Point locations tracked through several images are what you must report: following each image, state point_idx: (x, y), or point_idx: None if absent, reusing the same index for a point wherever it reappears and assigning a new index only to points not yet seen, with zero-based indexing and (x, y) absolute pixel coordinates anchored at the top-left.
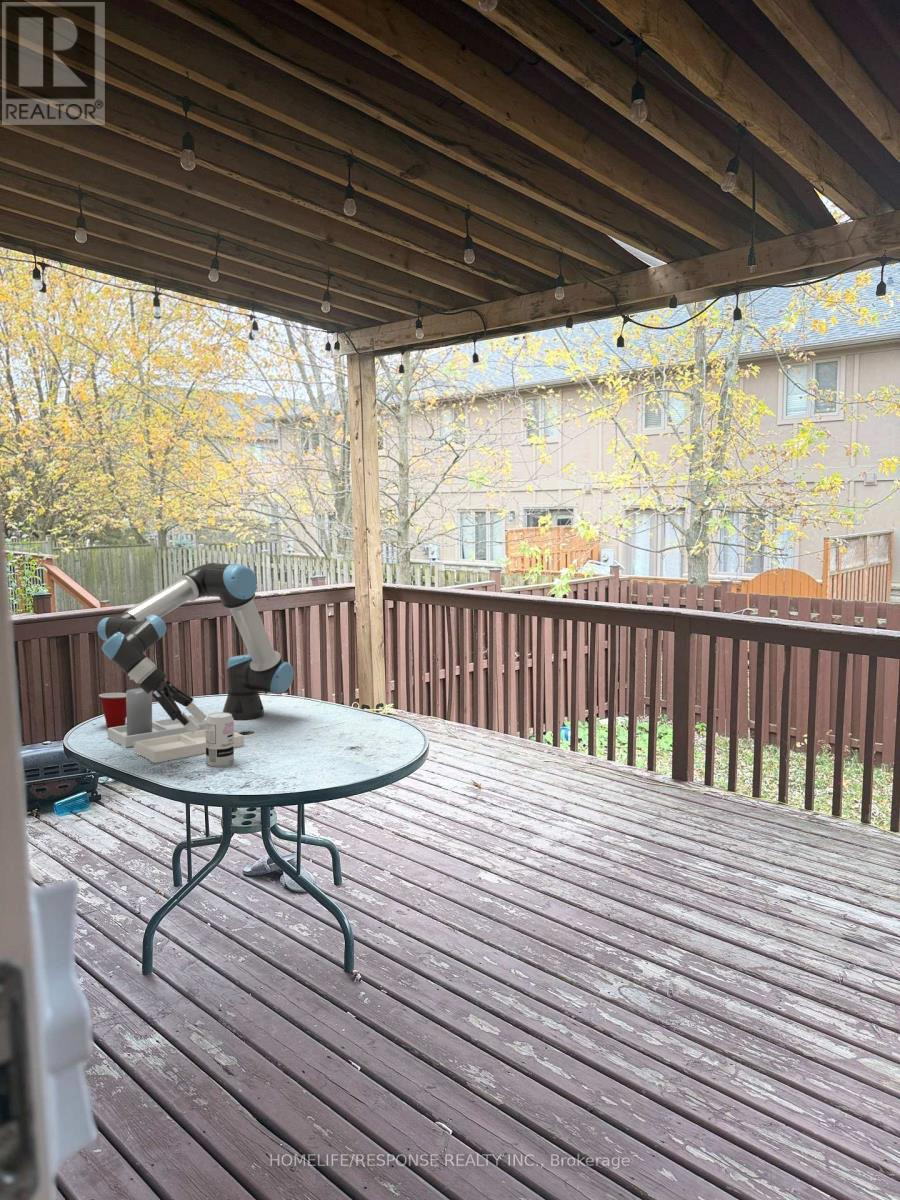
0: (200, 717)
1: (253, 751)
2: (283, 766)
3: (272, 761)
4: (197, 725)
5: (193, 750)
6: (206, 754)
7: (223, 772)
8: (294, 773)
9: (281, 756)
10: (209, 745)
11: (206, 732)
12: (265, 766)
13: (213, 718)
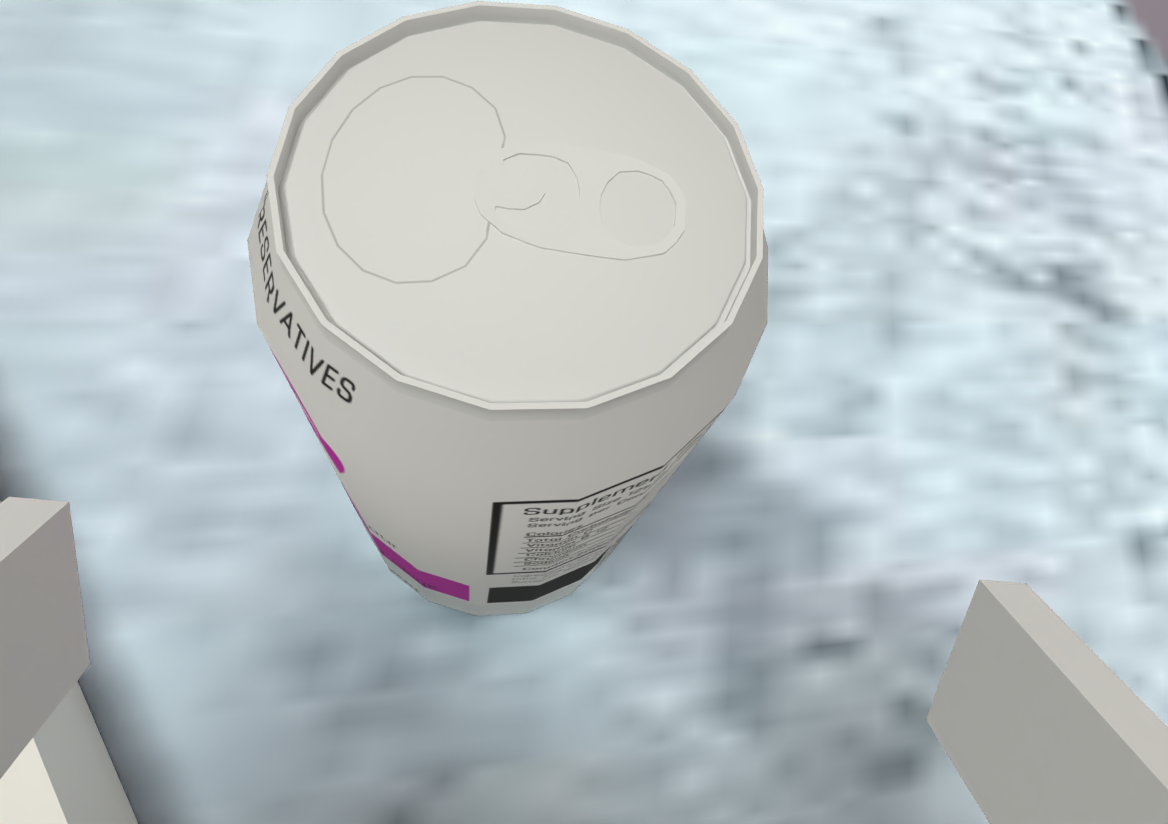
0: (26, 658)
1: (161, 215)
2: None
3: None
4: (1017, 613)
5: (99, 808)
6: (550, 592)
7: (771, 445)
8: (805, 16)
9: None
10: (629, 525)
11: (595, 527)
12: None
13: (740, 300)
